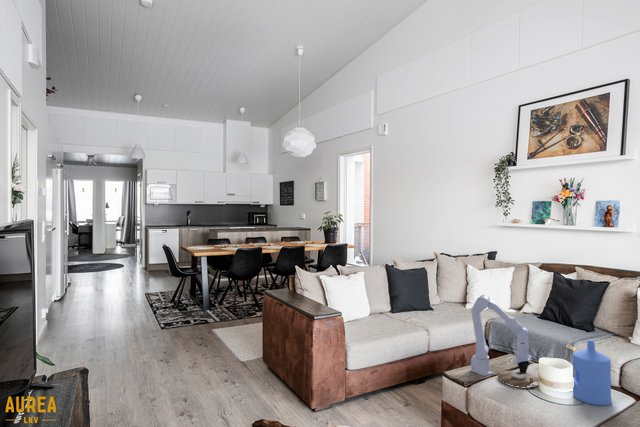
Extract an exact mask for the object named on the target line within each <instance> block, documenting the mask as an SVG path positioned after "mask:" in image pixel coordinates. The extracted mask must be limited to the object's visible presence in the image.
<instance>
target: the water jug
mask: <svg viewBox="0 0 640 427" xmlns="http://www.w3.org/2000/svg"><path fill="white" fill-rule="evenodd" d="M586 342H587V344H586V346H587V347H586V349H583V350H577V351H574V352H573V353H572V366H573V368H574V369H575V378H574V388H573V389H572V395H573V396H574V397H575V399H577V400H578V401H580V402H582V403H586V404H589V405H592V406H600V407H601V406H608V405H611V403H612V389H611V388H612V378H611V377H612V376H611V374H612V373H611V368H612V364H611V359H610V357H608V356H607V355H605V354H603V353H601V352H599V351H597V350H596V346H595V344H596V342H595V341H593V340H586Z"/></svg>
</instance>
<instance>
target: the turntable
mask: <svg viewBox="0 0 640 427" xmlns="http://www.w3.org/2000/svg"><path fill="white" fill-rule="evenodd" d="M512 371H513V370H503V371H500V372H499V373H498V374H497V378H499V379H498V381H500V380H501V381H502V382H504V383H507V384H510V385H513V386H519V387H527V386H530V384H531V383H533V382H535V381H538V380H539V378H538V377H536V376H535V375H533V374H532V373H531V374H530V373H529V372H528V373H527V372H526V375H525V377H526V379H525V380H515V379H513V378H511V372H512ZM501 381H500V382H501ZM502 382H501V383H502ZM504 383H503V384H504ZM513 386H512V387H513Z"/></svg>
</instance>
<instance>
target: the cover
mask: <svg viewBox="0 0 640 427" xmlns="http://www.w3.org/2000/svg"><path fill="white" fill-rule="evenodd" d="M511 371H512V372H511V378H513V379H515V380H525V379H526V377H525V373H523V372H521V371H520V370H511Z"/></svg>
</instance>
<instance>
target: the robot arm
mask: <svg viewBox="0 0 640 427" xmlns="http://www.w3.org/2000/svg"><path fill="white" fill-rule="evenodd" d="M485 309H487V310H490V311H493V312H495V313H496V314H497V315H498V316H499V317H500V318H501V319H502V320H504V324H505V325H506V326H507V328H509V329H510V330H511V331H512V332H513V333H515V334H516V337H517V339H516V357H515V358H514V359H513V361H512V362H513V364H514V365H517V367H518V369H519V370H518V371H521V372H523V373H525V375H526V373H527V370H528V368H529V365H530V364H531V360H533V355H531V354H529V347H530V346H529V330H528V328H527V327H526V326H524V325H523V324H522V323H520V322H519V321H518V318H516V317H514V316H510V315H508V313H507V312H505V311H504V310H503V309H502V308H501V307H500V306H499V304H497V303H496V301H494V299H492V298H490V297H489V295H487V294H482V295H480V296H479V297H477V298H476V300H475V301H474V304H473V306H472V307H471V309H470V313H471V318H472V324H473V330H474V331H473V332H474V335H475V347H476V348H475V354H473V355H472V356H471V358H470V368H471V369H470V372H472V373H475V374H477V375H480V376H483V377H486V376H489V375H491V374H494V373H493V371H490V356H489V355H488V353H489V351H490V348H489V346H488V344H487V342H486V339H485V333H484V327H483V321H482V314H481V312H482V311H483V310H485Z"/></svg>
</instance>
